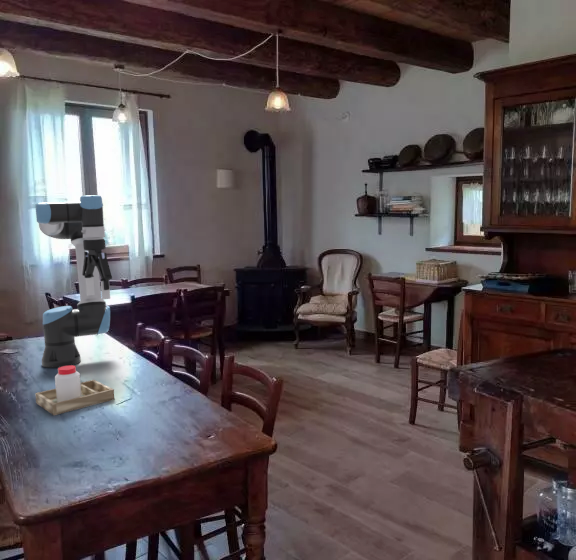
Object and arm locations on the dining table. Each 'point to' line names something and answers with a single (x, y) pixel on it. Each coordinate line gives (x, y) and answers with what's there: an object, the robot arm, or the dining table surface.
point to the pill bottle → (67, 383)
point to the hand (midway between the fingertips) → (98, 297)
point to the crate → (90, 392)
